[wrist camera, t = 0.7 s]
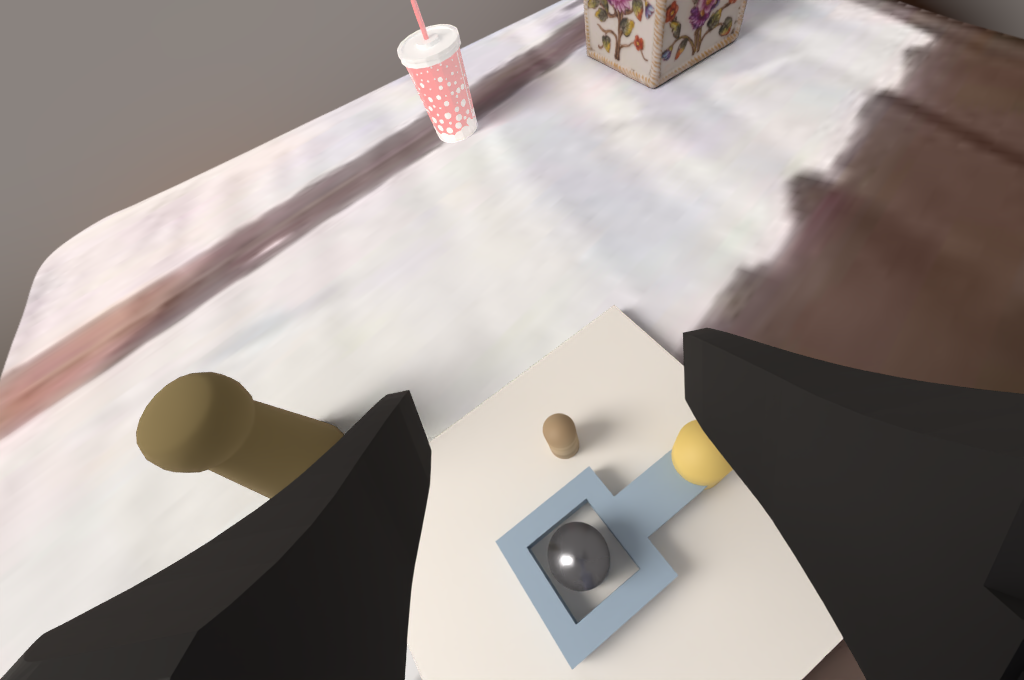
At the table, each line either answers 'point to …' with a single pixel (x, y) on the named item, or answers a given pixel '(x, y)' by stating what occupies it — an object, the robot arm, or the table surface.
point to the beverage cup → (440, 78)
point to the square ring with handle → (629, 522)
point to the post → (578, 556)
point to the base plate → (617, 462)
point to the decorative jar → (659, 34)
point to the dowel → (561, 435)
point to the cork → (230, 434)
